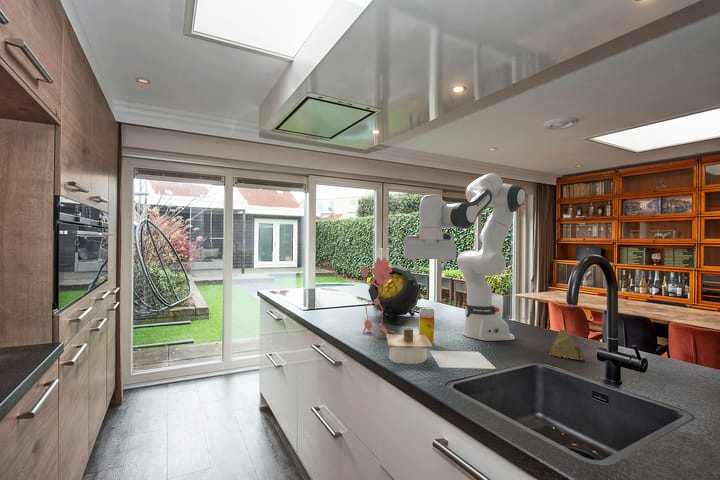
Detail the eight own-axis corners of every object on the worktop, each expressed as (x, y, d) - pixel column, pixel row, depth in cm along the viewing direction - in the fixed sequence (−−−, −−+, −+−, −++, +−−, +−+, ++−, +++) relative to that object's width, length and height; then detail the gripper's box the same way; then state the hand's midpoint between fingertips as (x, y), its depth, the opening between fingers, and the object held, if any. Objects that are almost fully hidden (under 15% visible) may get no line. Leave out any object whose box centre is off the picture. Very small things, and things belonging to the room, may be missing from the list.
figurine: (388, 342, 154) (391, 258, 155) (350, 330, 174) (353, 256, 175) (413, 337, 164) (416, 259, 164) (374, 326, 184) (377, 256, 184)
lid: (425, 337, 140) (425, 324, 140) (432, 348, 125) (433, 334, 125) (386, 336, 140) (386, 323, 140) (388, 347, 125) (389, 333, 125)
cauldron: (435, 309, 207) (424, 286, 190) (393, 335, 207) (378, 314, 191) (413, 276, 227) (400, 253, 211) (374, 300, 228) (359, 278, 211)
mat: (478, 353, 142) (478, 351, 142) (496, 370, 123) (496, 368, 123) (429, 351, 142) (429, 350, 142) (439, 368, 123) (439, 367, 123)
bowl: (422, 354, 139) (423, 338, 139) (428, 365, 126) (429, 347, 126) (388, 353, 139) (388, 337, 139) (391, 364, 126) (391, 346, 126)
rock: (592, 354, 136) (569, 343, 146) (585, 337, 134) (562, 327, 143) (572, 373, 134) (550, 360, 144) (564, 356, 132) (542, 345, 141)
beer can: (433, 346, 149) (434, 309, 149) (418, 345, 150) (419, 309, 150) (433, 343, 155) (434, 307, 155) (418, 341, 156) (419, 306, 156)
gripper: (404, 234, 141) (403, 270, 141) (457, 236, 141) (456, 272, 141) (402, 234, 147) (401, 269, 147) (453, 236, 147) (452, 270, 147)
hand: (429, 270), depth 144 cm, fingers open, 8 cm apart
